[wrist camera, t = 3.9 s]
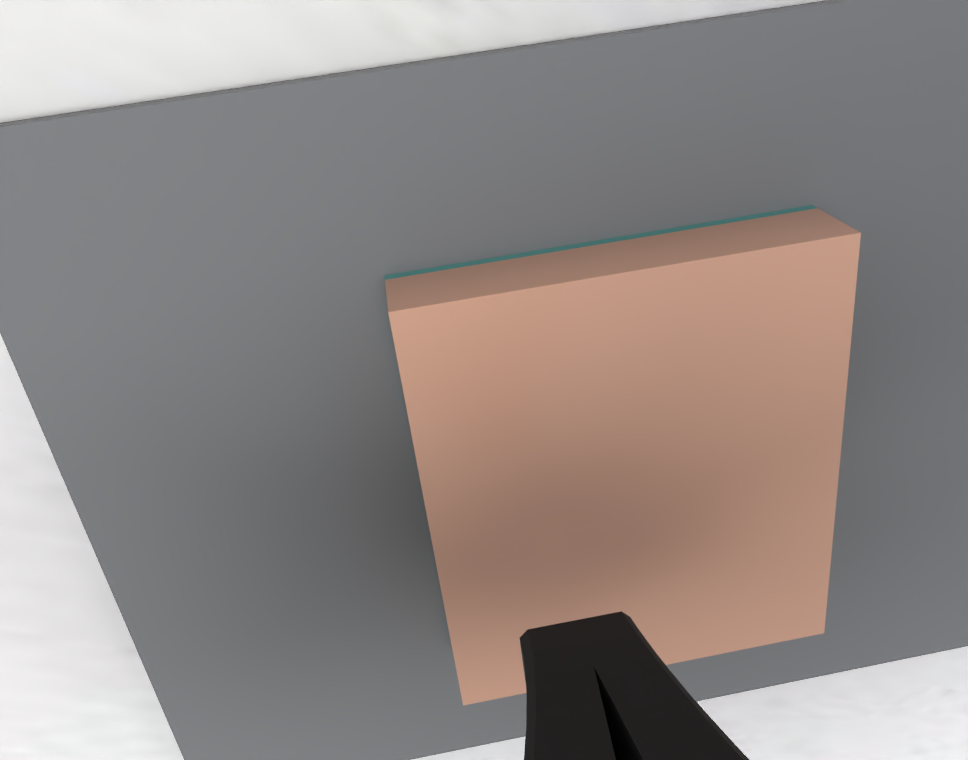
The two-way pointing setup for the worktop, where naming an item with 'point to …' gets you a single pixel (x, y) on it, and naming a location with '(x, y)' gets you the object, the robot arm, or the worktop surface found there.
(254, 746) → the rubber mat
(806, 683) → the worktop surface
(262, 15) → the worktop surface
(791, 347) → the glazed tile
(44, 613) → the worktop surface
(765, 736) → the worktop surface
